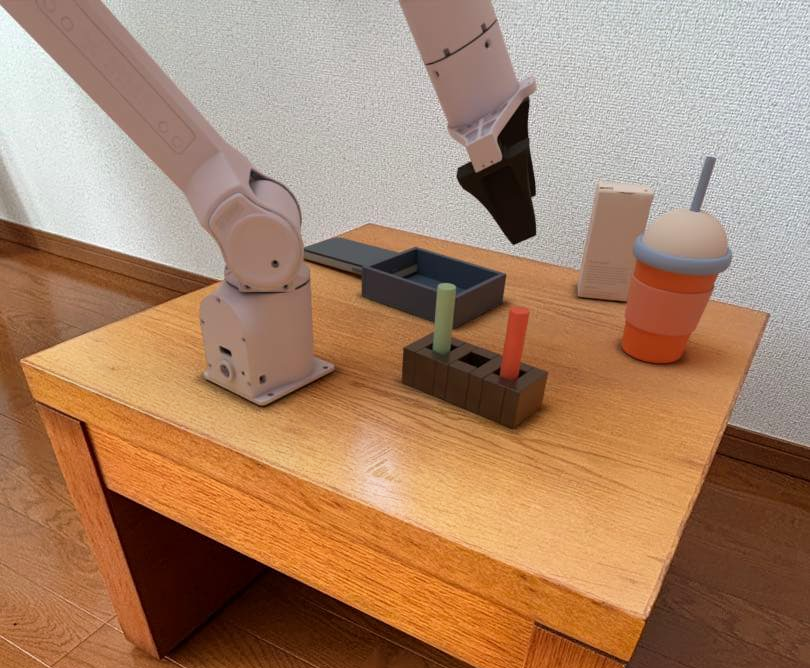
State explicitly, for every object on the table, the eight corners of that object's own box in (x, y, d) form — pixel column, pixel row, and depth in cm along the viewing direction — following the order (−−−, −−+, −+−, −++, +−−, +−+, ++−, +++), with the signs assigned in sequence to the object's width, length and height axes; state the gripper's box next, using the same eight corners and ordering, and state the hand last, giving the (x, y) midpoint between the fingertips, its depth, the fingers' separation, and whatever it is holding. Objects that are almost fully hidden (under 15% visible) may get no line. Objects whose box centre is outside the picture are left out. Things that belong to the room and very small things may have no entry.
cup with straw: (700, 376, 65) (777, 174, 53) (608, 364, 66) (662, 163, 54) (689, 338, 72) (755, 152, 60) (605, 328, 73) (653, 142, 61)
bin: (502, 302, 77) (506, 273, 75) (453, 329, 71) (456, 297, 69) (413, 274, 83) (415, 246, 81) (361, 296, 77) (361, 266, 74)
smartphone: (337, 235, 89) (426, 258, 82) (337, 248, 90) (425, 272, 83) (297, 247, 84) (389, 273, 77) (298, 261, 85) (388, 287, 79)
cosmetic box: (623, 290, 82) (652, 183, 74) (627, 304, 79) (657, 193, 71) (574, 285, 83) (597, 178, 75) (575, 298, 79) (599, 188, 71)
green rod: (440, 387, 61) (449, 291, 55) (426, 382, 62) (433, 286, 56) (450, 381, 62) (459, 286, 56) (436, 376, 63) (444, 281, 57)
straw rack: (541, 407, 59) (548, 371, 57) (513, 429, 56) (519, 392, 54) (432, 364, 64) (435, 330, 62) (401, 382, 61) (403, 347, 59)
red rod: (506, 414, 58) (523, 315, 52) (491, 408, 59) (506, 309, 53) (515, 407, 59) (533, 309, 53) (500, 401, 59) (516, 304, 54)
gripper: (510, 37, 41) (575, 237, 49) (514, -13, 50) (568, 163, 59) (410, 95, 44) (487, 273, 52) (431, 38, 53) (494, 197, 62)
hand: (524, 217), depth 56 cm, fingers open, 7 cm apart
